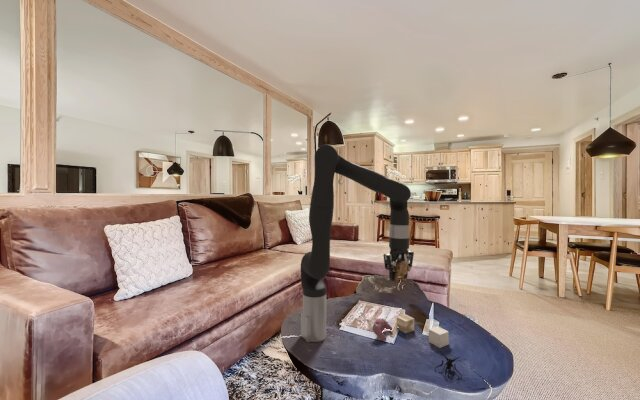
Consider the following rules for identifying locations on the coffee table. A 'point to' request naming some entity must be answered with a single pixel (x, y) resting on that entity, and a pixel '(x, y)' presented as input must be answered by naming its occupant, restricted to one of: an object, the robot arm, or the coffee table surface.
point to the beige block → (438, 336)
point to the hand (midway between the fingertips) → (398, 279)
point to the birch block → (405, 323)
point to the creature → (449, 366)
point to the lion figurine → (401, 270)
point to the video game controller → (381, 328)
